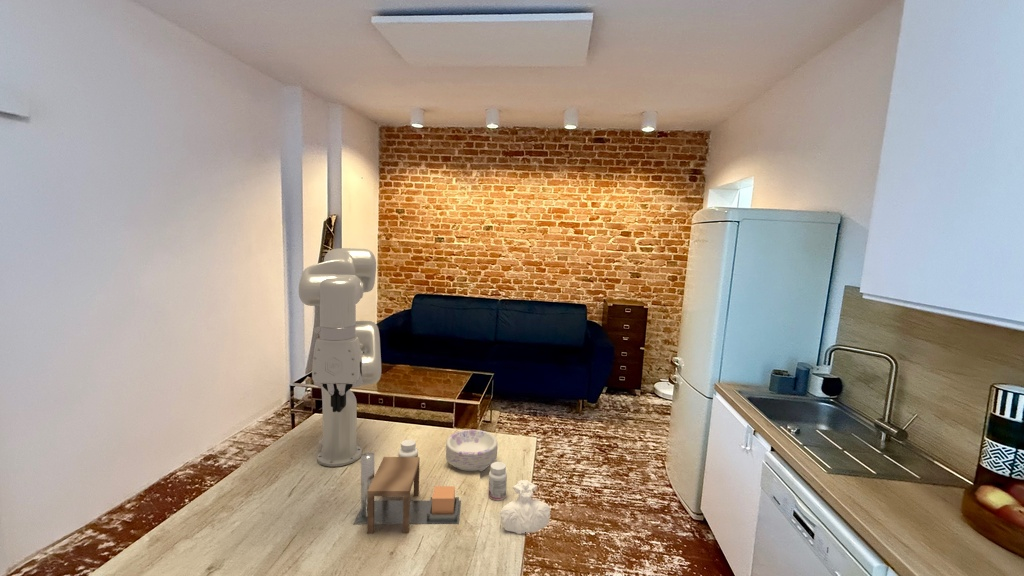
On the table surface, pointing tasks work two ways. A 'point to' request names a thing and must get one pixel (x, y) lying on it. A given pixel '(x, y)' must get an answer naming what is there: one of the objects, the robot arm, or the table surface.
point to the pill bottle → (497, 481)
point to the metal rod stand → (398, 504)
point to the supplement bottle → (408, 449)
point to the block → (443, 500)
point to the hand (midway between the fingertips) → (338, 409)
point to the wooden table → (394, 485)
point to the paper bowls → (471, 450)
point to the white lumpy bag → (525, 511)
